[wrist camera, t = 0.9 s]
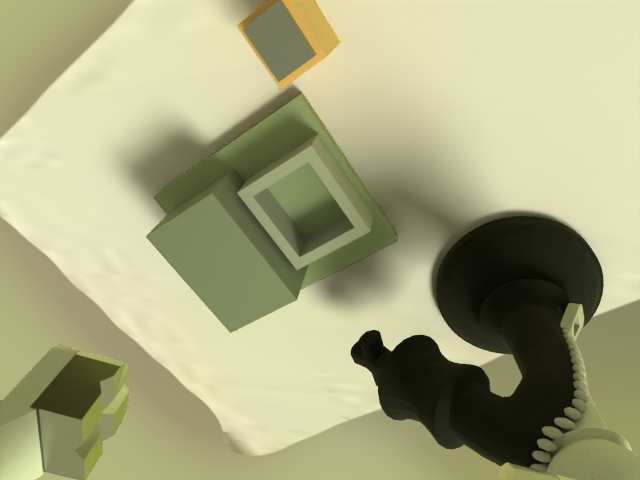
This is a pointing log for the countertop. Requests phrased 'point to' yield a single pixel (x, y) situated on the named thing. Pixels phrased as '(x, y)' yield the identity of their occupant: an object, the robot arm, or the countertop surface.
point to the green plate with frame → (268, 217)
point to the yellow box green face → (289, 37)
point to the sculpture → (509, 338)
